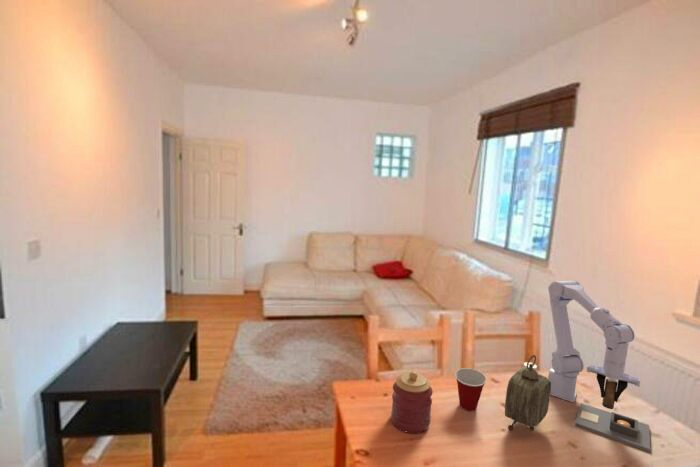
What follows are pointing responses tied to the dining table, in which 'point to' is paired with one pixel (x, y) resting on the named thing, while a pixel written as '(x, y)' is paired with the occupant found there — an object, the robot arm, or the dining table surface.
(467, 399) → the plastic cup
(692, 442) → the dining table surface
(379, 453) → the dining table surface
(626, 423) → the breaker button
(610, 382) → the brown cylinder
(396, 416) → the canister
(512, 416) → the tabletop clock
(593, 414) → the switch panel
